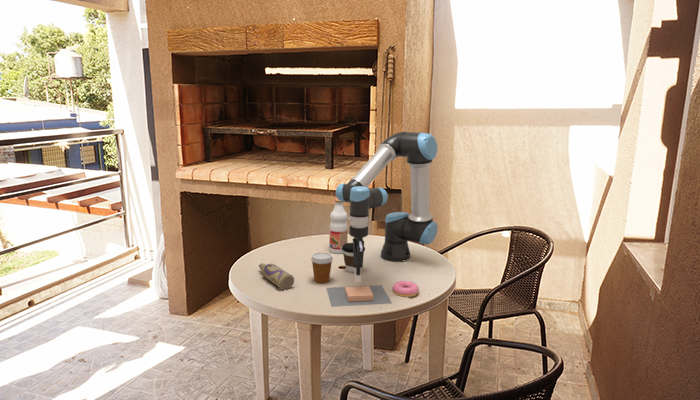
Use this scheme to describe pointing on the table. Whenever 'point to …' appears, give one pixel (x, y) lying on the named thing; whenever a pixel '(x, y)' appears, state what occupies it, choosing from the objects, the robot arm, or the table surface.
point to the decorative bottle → (277, 276)
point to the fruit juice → (338, 227)
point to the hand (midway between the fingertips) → (357, 281)
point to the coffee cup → (349, 256)
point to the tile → (358, 293)
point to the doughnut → (405, 288)
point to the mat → (340, 299)
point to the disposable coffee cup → (321, 267)
